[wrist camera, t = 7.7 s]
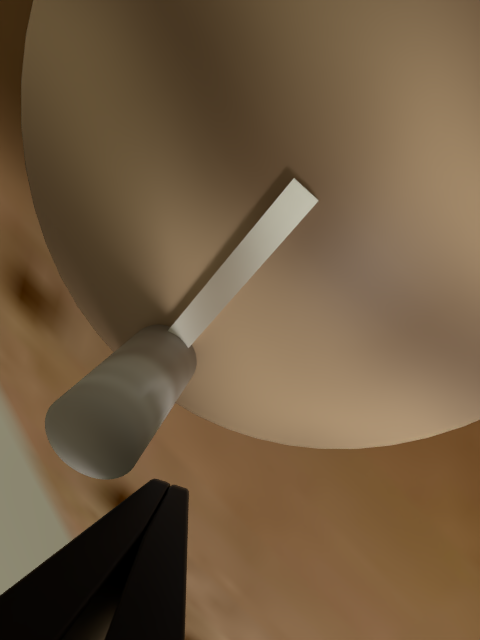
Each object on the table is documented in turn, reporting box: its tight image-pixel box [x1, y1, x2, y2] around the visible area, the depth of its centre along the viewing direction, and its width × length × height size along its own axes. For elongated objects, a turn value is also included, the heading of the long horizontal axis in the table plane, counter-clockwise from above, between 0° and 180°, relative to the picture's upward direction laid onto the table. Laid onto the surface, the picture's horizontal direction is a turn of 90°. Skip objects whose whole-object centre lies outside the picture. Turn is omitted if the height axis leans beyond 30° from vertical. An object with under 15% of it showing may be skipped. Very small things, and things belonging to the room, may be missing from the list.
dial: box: [21, 0, 480, 479], centre depth 8 cm, size 16×16×5 cm
